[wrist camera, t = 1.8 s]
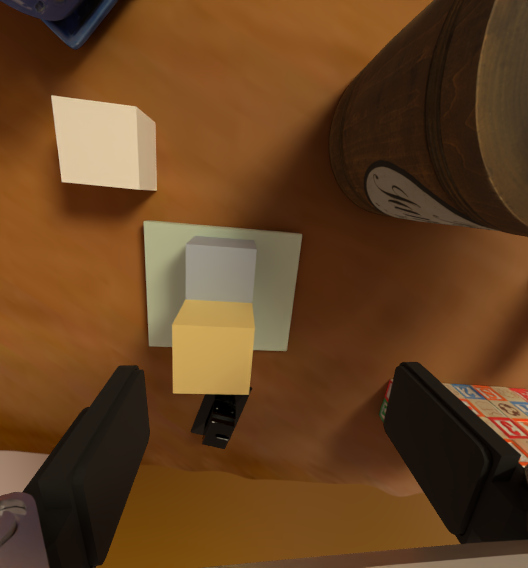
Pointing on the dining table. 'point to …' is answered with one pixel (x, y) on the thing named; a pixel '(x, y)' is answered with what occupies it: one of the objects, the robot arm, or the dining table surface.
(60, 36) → the flower pot
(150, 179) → the cream brick
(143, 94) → the dining table surface
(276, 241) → the green plate
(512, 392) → the stack of blocks
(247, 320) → the mustard brick
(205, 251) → the slate-blue long brick
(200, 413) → the black piece
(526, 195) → the wooden container
